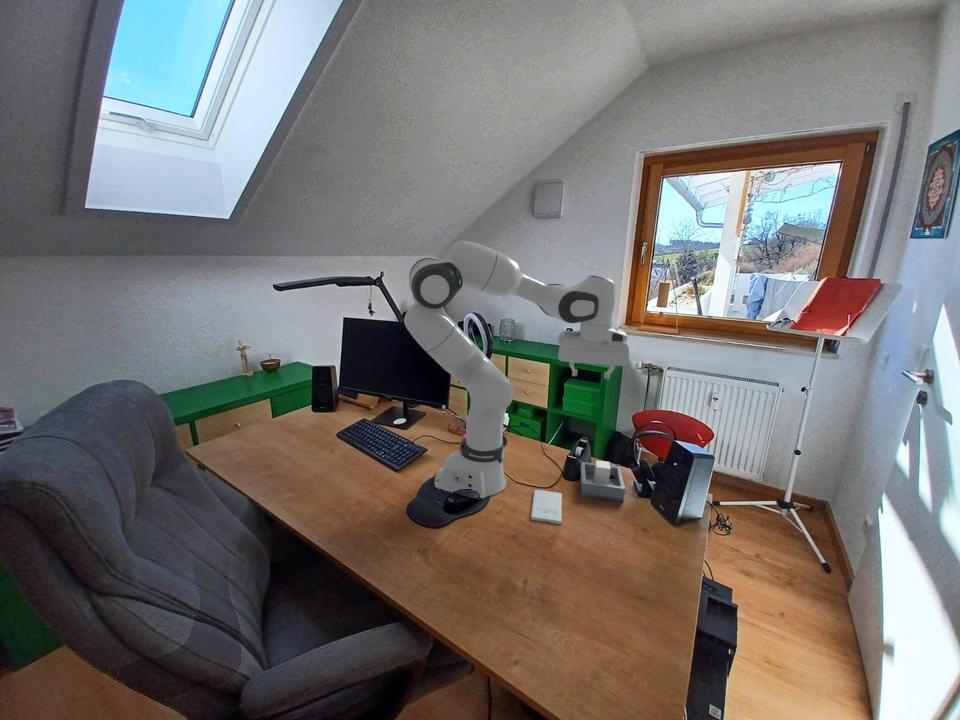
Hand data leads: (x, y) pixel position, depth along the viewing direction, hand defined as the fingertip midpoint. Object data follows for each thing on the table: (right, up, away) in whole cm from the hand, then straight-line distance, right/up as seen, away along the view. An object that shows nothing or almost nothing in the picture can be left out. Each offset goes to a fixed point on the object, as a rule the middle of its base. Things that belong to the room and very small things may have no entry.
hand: (590, 377), depth 117 cm
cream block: (+4, -33, +3) cm, 34 cm away
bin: (+4, -34, +3) cm, 35 cm away
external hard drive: (-14, -38, -6) cm, 41 cm away
